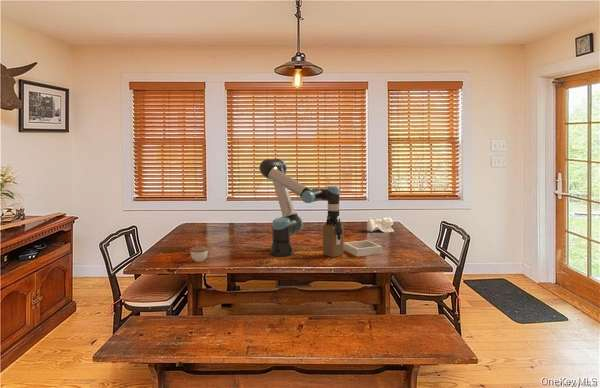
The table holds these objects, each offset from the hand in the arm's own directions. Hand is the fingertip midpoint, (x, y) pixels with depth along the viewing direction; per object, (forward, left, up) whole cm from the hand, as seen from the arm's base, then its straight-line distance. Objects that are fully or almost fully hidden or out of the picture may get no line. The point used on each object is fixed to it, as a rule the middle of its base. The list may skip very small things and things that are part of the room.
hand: (333, 242), depth 262 cm
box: (0, +22, -9) cm, 24 cm away
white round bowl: (-22, -83, -9) cm, 86 cm away
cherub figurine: (-52, +71, -9) cm, 88 cm away
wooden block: (0, 0, -9) cm, 9 cm away
